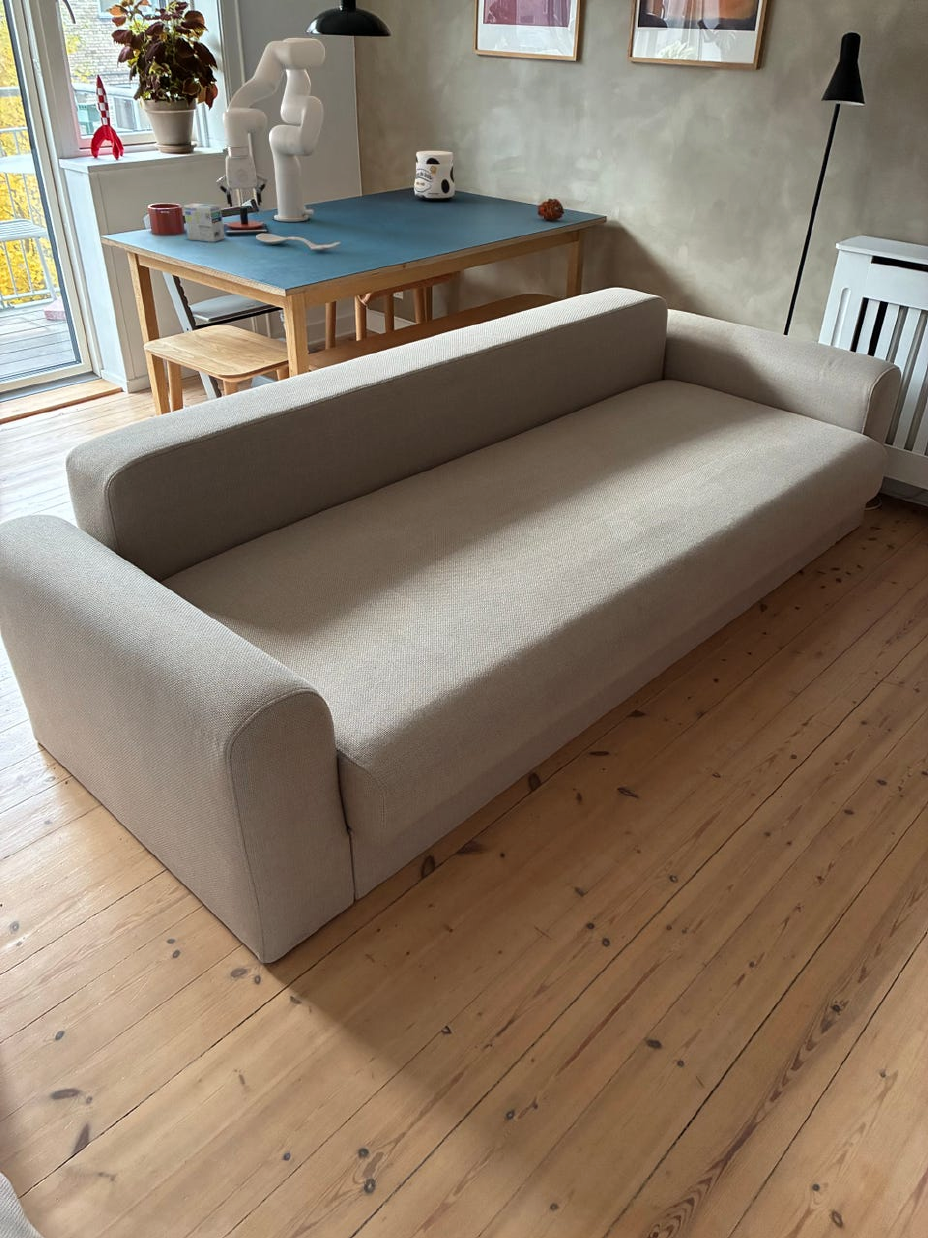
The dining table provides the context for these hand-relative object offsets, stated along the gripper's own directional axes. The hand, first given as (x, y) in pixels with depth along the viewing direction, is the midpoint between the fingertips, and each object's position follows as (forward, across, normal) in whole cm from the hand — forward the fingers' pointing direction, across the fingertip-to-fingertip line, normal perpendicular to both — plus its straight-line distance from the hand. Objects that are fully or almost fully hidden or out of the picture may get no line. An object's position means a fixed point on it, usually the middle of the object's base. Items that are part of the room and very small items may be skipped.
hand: (245, 205), depth 333 cm
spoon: (+7, +13, -35) cm, 38 cm away
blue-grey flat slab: (+8, -1, -1) cm, 8 cm away
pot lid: (+6, -1, -1) cm, 7 cm away
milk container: (+12, +81, +57) cm, 100 cm away
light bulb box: (+7, -15, -16) cm, 23 cm away
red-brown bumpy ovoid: (+12, +114, +2) cm, 115 cm away
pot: (+7, -28, -1) cm, 28 cm away
